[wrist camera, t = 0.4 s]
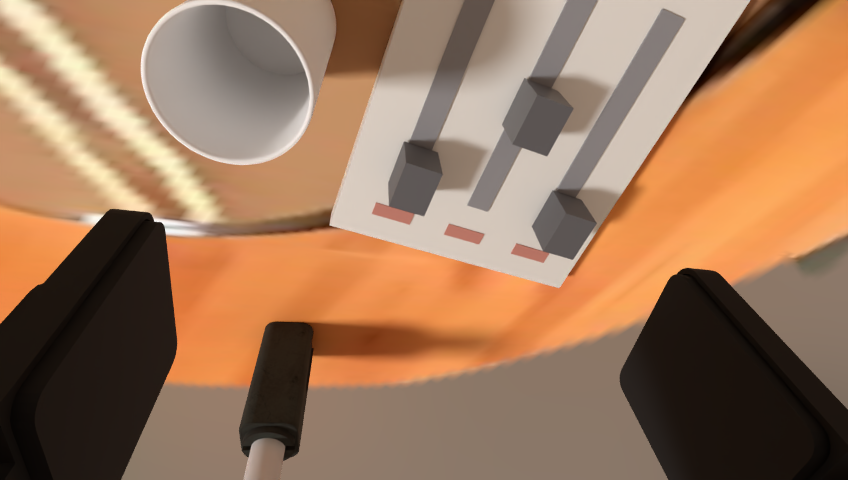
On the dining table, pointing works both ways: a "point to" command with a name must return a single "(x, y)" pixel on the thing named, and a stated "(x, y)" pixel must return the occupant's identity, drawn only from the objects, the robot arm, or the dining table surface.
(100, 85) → the dining table surface
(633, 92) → the switch panel
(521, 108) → the handle
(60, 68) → the dining table surface
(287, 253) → the dining table surface
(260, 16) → the cup
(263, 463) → the black and grey marker
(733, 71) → the dining table surface
